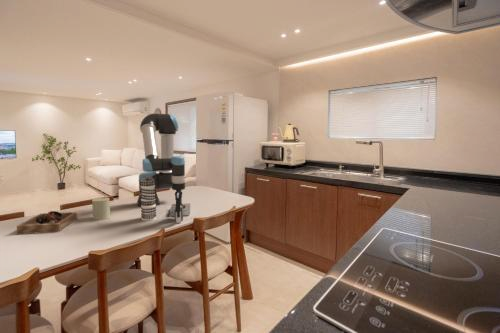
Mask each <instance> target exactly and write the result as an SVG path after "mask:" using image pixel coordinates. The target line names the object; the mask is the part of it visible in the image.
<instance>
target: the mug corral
mask: <svg viewBox="0 0 500 333" xmlns="http://www.w3.org/2000/svg"><path fill="white" fill-rule="evenodd" d="M60 213H61V214H62V215H63V217H62V218H63V219H62V220H61V221H60V222H58V223H54V222H53V221H52V220H50V223H44V224H38V223H37V222H36V218H37V217H39V216H44V215H46V214H48V212H47V213H39V214H37V215H35V216H34V217H31V218H29V219H27V220H25V221H24V222H22V223H19V224H18V225H16V233H17V234H18V235H19V234H36V233H35V232H41V233H55V232H56V233H57V232H58V231H59V232H60V231H61V232H62V230H64V229H65V228H66V226H67V227H68V226H69V225H70V223H71V224H72V223H74V222H75V221H76V220H77V219H78V212H77V211H73V212H70V211H69V212H60ZM51 216H52V217H55V220H57V218H60V216H59V215H54V214H53V213H52V214H51ZM41 220H42V219H40V220H39V221H41ZM51 221H52V222H51Z"/></svg>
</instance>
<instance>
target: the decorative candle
mask: <svg viewBox="0 0 500 333" xmlns="http://www.w3.org/2000/svg"><path fill="white" fill-rule="evenodd" d="M154 180H155V179H153V178H152V177H144V178H142V180H140V181H141V187H140V192H141V193H140V195H141V196H140V198H141V201H142V205H141V206H140V209H141V211H140V212H141V215H140V217H141V220H142V221H145V222H147V221H148V222H150V221H154V220H156V219H157V209H156V208H157V205H156V204H155V200H156V198H155V197H156V195H155V193H156V192H155V191H156V189H154V188H155V187H156V186H155V184H154V183H155V182H154Z"/></svg>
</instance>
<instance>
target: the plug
mask: <svg viewBox="0 0 500 333" xmlns="http://www.w3.org/2000/svg"><path fill="white" fill-rule="evenodd" d="M177 210H179V209H177ZM175 211H176V206H175ZM174 221H175V223H176V212H175V216H174ZM181 222H184V216H183V206H181Z"/></svg>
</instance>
